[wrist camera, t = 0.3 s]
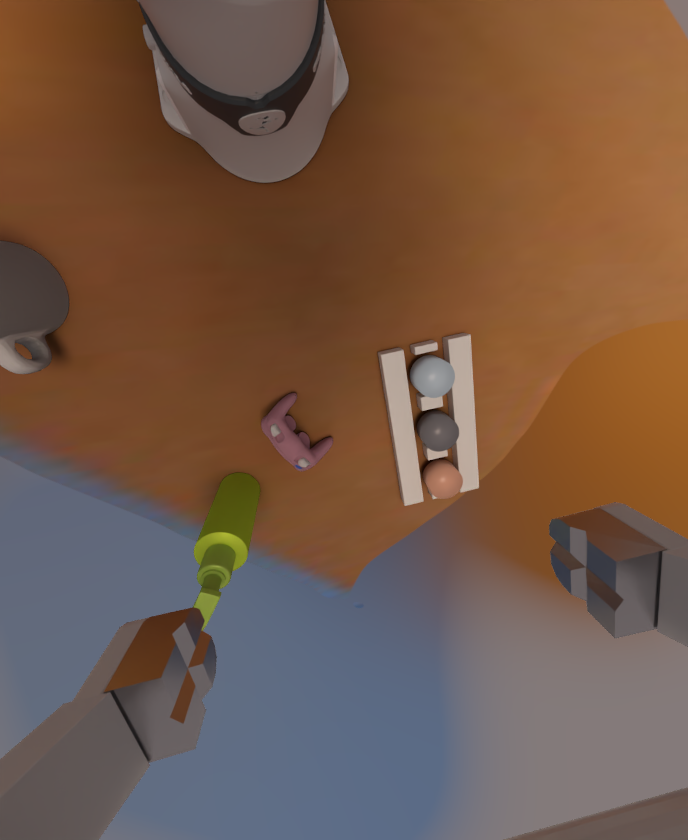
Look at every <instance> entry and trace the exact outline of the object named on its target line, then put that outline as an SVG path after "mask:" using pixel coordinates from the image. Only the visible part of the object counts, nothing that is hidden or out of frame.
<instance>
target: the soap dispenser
mask: <svg viewBox="0 0 688 840" xmlns="http://www.w3.org/2000/svg"><path fill="white" fill-rule="evenodd" d="M259 495H260V486H259V483H258V482H257V480H256V479H255V478H254V477H252V476H251V475H249V474H246V473H233V474H230V475H228V476H226V477H225V478H224V479H223V480H222V482H221V484H220V486H219V489H218V491H217V494H216V496H215V498H214V501H213V503H212V506H211V508H210V511H209V513H208V516H207V518H206V520H205V523H204V525H203V528H202V530H201V533H200V535H199V538H198V540H197V543H196V545H195V548H194V557H195V559H196V561H197V562H198V564H199V565H200V568H199V571H198V574H197V580H198V582H199V584H200V585H201V586H202V588H201V591H200V593H199V595H198V597H197V600H196V602H195V604H194V606H193V607H195V608H198V609H200V611H201V613H202V616H203V618H204V620H205V622H204V624H203V627H202V631H203V630H204V628H205V627H206V625H207V623H208V621H209V619H210V617H211V615H212V613H213V611H214V609H215V607H216V605H217V603H218V601H219V599H220V596H221V592H219V589H221V588H223V587H225V586H226V585H227V584H228V583H229V581H230V579H231V575H232V571H234V570H236V569H238V568H239V567H241V566H242V565H243V564H244V562H245V561H246V559H247V556H248V551H249V546H250V541H251V535H252V530H253V525H254V520H255V515H256V510H257V505H258V500H259Z"/></svg>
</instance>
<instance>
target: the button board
mask: <svg viewBox="0 0 688 840" xmlns="http://www.w3.org/2000/svg"><path fill="white" fill-rule="evenodd" d="M442 340H443V351H444V360H445V361H447V362H448V363H449V364H450V365H451V366H452V367H453V369H454V372H455V380H454V384H453V386H452V387H451V389H450V390H449V391H448V392H447V397H448V409H449V417H450V418H451V419H452V420H453V421H455V422H456V424H457V425H458V428H459V437H458V439H457V441H456V443H455V444H454V445H453V446H452V455H453V466H454V467H455V468H456V469H457V470H458V471H459V473H460V474H461V475H462V478H463V485H462V487H461V489H460V492H464V491H468V490H472V489H477V488H479V479H478V461H477V443H476V425H475V407H474V389H473V371H472V353H471V335H470V334H466V333H461V334H456V335H452V336H447V337H443V338H442ZM410 349H411V353H413V354H415V355H418V354H422V353H426V352H431V351H435V350H438V347H437V342H435V341H433V340H430V341H425V342H421V343H416V344H412V345H410ZM378 358H379V364H380V370H381V376H382V383H383V389H384V395H385V401H386V407H387V413H388V419H389V426H390V432H391V438H392V444H393V450H394V456H395V462H396V469H397V475H398V481H399V487H400V493H401V499H402V501H403V503H404V505H405V506H407V505H411V504H415V503H419V502H423V494H422V486H421V479H420V471H419V464H418V456H417V448H416V441H415V433H414V426H413V418H412V411H411V403H410V396H409V388H408V381H407V373H406V366H405V358H404V351H403V349H401V348H394V349H390V350H385V351H381V352H378ZM416 397H417V405H418V407H419V408H420V409H421V410H422V411H425V410H429V409H434V408H438V407H442V406H443V400H442V396H441V397H437V398H430V397H426V396H424V395H423V394H422V393H416ZM422 445H423V453H424V456H425V457H426V458H427V460H428V461H429V460H433V459H437V458H441V457H445V456H448V454H447V450H445V451H441V452H436V451H432V450H430V449H429V448H428V447H427V446H426V445H425V444H424V443H422ZM428 492H429V494H430V495H431V497H432V499H436V498H437V497H435V496H434V495H433V494H432V493H431V492H430V490H429V488H428Z"/></svg>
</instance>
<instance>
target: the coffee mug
mask: <svg viewBox="0 0 688 840" xmlns="http://www.w3.org/2000/svg"><path fill="white" fill-rule="evenodd" d="M68 309H69V297H68V292H67V289H66V286H65V283H64V281H63V279H62V278H61V276H60V274H59V273H58V272H57V270H56V269H55V268H54V266H53V265H52V264H51V263H50V262H49V261H48V260H46V259H45V258H44V257H43V256H42V255H40V254H39V253H37V252H36V251H34V250H32V249H30V248H28V247H25V246H23V245H20V244H17V243H12V242H6V241H0V365H1V366H2V367H4V368H5V369H7V370H9V371H11V372H14V373H18V374H30V373H34V372H37V371H40V370H42V369H43V368H45V367H47V366H48V365H49V364H50V362H51V360H52V355H51V351H50V348H49V346H48V345H47V343H46V340H45V336H46V334H49V333H51V332H53V331H55V330H56V329H57V328H59V327H60V326H61V325H62V324H63V322H64V320H65V319H66V316H67V314H68ZM15 343H19V344H22V345H24V346H25V347H26V348H27V349H28V350H29V351H30V352H31V355H32V360H31V359H26V358H24V357H23V356H22V355H20V354H19V353H18V352H17V350H16V348H15V346H14V345H15Z"/></svg>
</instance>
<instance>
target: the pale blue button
mask: <svg viewBox="0 0 688 840" xmlns="http://www.w3.org/2000/svg"><path fill="white" fill-rule="evenodd" d="M454 380H455V372H454V369H453V367H452V366H451V365H450V364H449V363H448V362H447V361H445V360H443V359H441V358H439V357H437V356H434V355H426V356H423V357H421V358H419V359H418V360H416V361H415V363H414V364H413V365H412V367H411V370H410V381H411V383H412V385H413V386H414V387H415V388H416V389H417V390H418V391H420V392H421V393H422V394H423V395H424V396H426V397H430V398H437V397H441V396H443V395H445V394H446V393H447V392H448V391H449V390H450V389H451V387H452V386H453V384H454Z"/></svg>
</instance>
